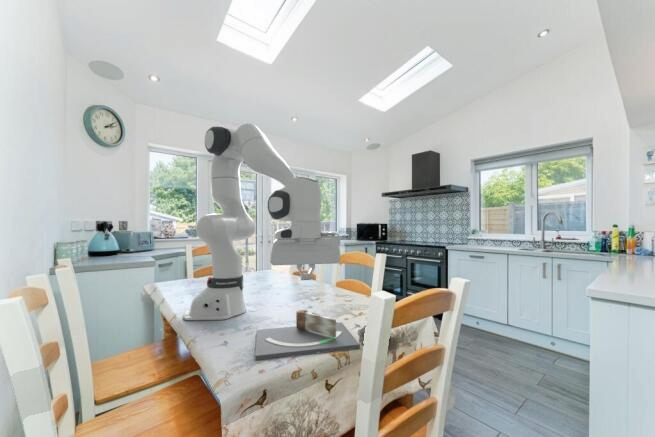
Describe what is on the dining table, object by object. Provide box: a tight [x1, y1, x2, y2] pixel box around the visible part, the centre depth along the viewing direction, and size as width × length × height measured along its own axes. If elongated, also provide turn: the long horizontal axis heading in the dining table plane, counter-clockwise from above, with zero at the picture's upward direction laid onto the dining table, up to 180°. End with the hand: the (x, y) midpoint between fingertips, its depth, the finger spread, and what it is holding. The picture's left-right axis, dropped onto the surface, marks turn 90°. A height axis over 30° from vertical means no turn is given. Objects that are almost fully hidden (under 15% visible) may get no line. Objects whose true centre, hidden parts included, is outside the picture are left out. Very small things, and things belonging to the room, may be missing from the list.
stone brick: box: [295, 309, 337, 338], centre depth 84 cm, size 15×4×5 cm, turn 53°
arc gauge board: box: [254, 322, 361, 361], centre depth 82 cm, size 28×18×1 cm, turn 103°
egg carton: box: [357, 324, 367, 345], centre depth 82 cm, size 11×8×4 cm
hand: (305, 279), depth 79 cm, fingers closed
